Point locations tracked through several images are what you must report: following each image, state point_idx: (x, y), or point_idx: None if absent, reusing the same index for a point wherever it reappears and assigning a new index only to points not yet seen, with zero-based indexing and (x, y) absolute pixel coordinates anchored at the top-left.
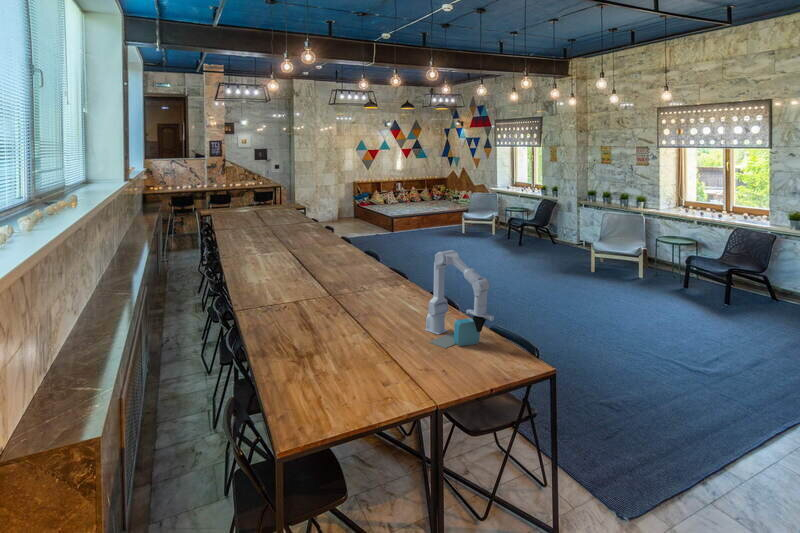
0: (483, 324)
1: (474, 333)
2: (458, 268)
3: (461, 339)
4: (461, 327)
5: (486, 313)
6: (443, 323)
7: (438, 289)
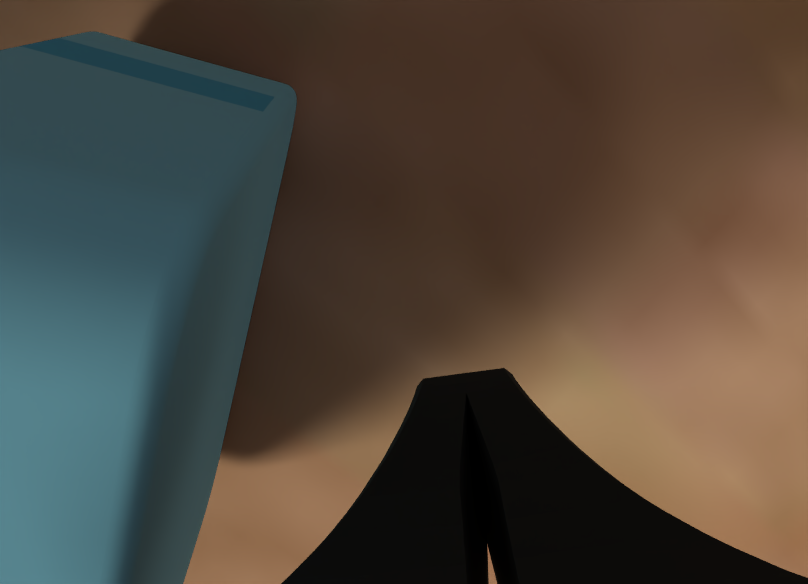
0: (616, 489)
1: (237, 297)
2: None
3: (199, 519)
4: None
5: None
6: None
7: None
